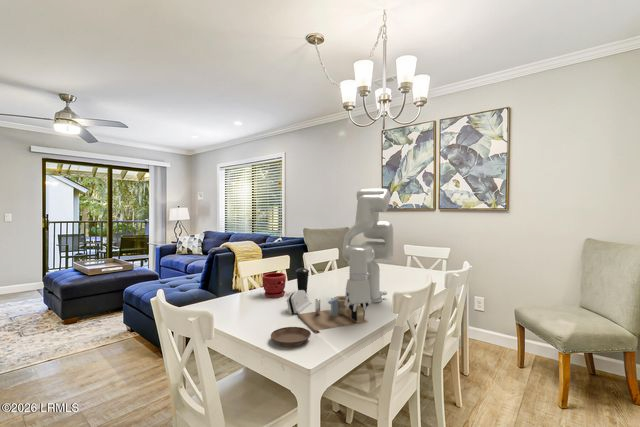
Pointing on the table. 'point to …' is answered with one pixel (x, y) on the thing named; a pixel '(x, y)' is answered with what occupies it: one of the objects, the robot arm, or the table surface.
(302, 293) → the white rounded block
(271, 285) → the plant pot
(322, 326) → the board
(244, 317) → the table surface
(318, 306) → the peg
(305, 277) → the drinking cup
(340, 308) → the link
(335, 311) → the bracket
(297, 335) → the saucer
